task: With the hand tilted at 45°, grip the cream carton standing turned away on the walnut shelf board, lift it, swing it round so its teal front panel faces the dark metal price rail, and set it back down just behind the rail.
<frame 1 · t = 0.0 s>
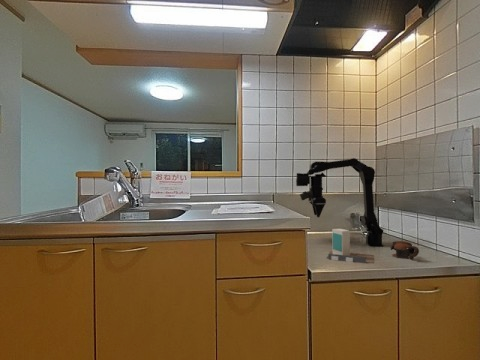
hand: (316, 216, 147), 15 cm above the worktop, tool pointing down, fingers open, 9 cm apart
pottery mug: (404, 259, 119), on the worktop
carton: (341, 255, 122), point 1 cm above the worktop, touching shelf board
price rail: (346, 263, 114), on the worktop
shelf board: (350, 259, 119), on the worktop
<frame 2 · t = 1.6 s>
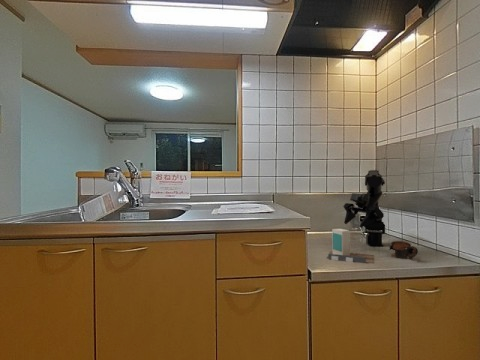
hand: (352, 225, 125), 13 cm above the worktop, tool tilted 45°, fingers open, 9 cm apart
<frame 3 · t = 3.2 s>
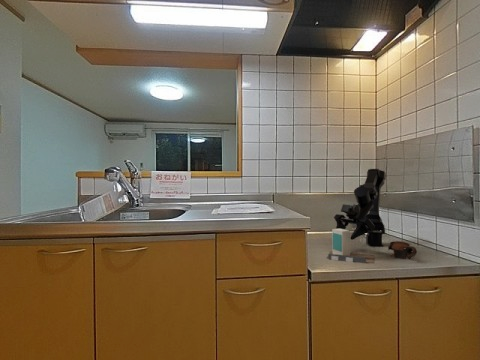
hand: (342, 237, 122), 9 cm above the worktop, tool tilted 45°, fingers open, 9 cm apart
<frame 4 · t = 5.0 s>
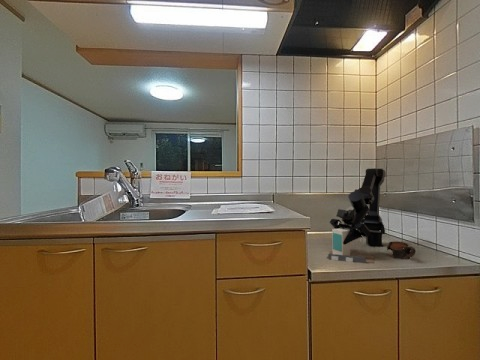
hand: (338, 242, 121), 7 cm above the worktop, tool tilted 45°, fingers closed on carton, 6 cm apart
carton: (341, 255, 122), point 1 cm above the worktop, touching gripper, shelf board
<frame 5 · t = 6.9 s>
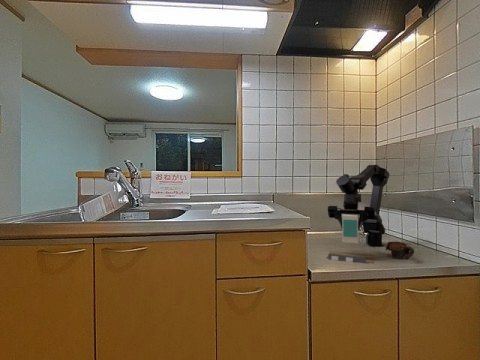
hand: (350, 228, 117), 13 cm above the worktop, tool tilted 45°, fingers closed on carton, 6 cm apart
carton: (350, 241, 118), point 8 cm above the worktop, touching gripper
when the fingers open (8 cm above the worktop, at t = 9.1 s): carton stays where it is, resting on shelf board.
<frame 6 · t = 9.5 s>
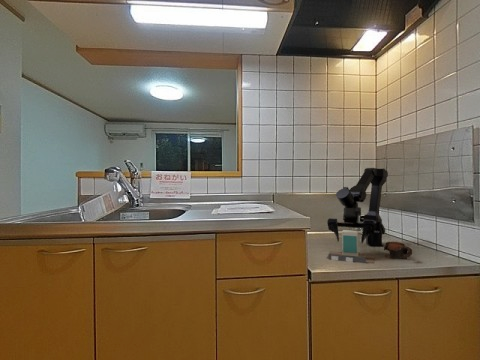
hand: (349, 242, 117), 8 cm above the worktop, tool tilted 45°, fingers open, 9 cm apart
carton: (350, 257, 118), point 1 cm above the worktop, touching shelf board
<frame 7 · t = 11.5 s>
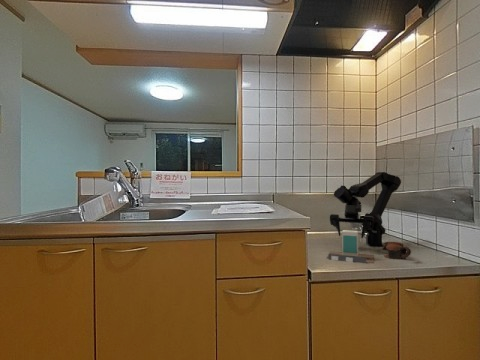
hand: (350, 236, 126), 8 cm above the worktop, tool tilted 40°, fingers open, 9 cm apart
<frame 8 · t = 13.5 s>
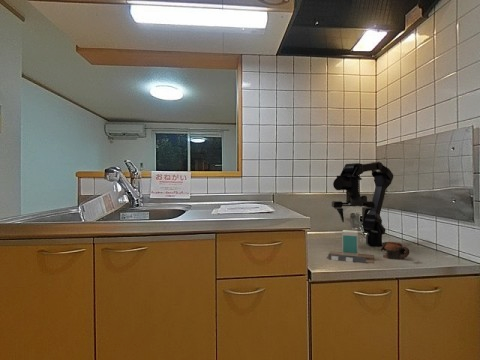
hand: (353, 222, 135), 13 cm above the worktop, tool pointing down, fingers open, 9 cm apart
at the end: carton 0.5 cm from the target spot, point 1.0 cm above the worktop; carton tilted 0°; carton 5.6 cm from the price rail (horizontally) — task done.
